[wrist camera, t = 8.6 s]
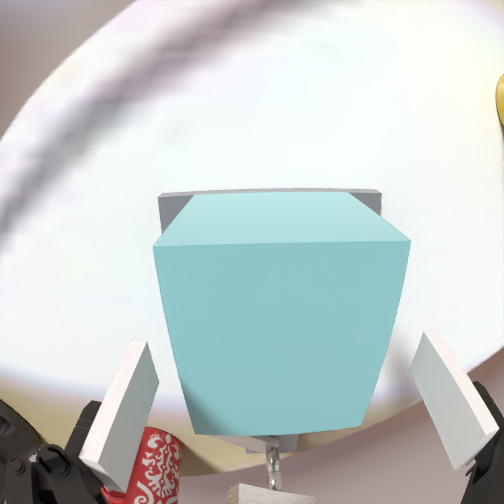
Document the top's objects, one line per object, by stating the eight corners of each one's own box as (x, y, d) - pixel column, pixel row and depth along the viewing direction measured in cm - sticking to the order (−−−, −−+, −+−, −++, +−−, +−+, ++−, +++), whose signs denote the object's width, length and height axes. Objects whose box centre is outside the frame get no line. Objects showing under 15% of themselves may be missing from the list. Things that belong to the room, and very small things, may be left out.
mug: (202, 455, 34) (192, 542, 21) (146, 457, 35) (128, 534, 22) (153, 400, 29) (123, 508, 16) (93, 405, 30) (57, 493, 18)
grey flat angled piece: (297, 456, 26) (305, 537, 17) (200, 424, 23) (187, 522, 14) (310, 448, 25) (322, 532, 16) (211, 415, 23) (200, 518, 14)
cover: (216, 384, 26) (206, 468, 18) (194, 194, 19) (152, 246, 11) (325, 380, 26) (344, 461, 17) (347, 192, 19) (411, 240, 11)
